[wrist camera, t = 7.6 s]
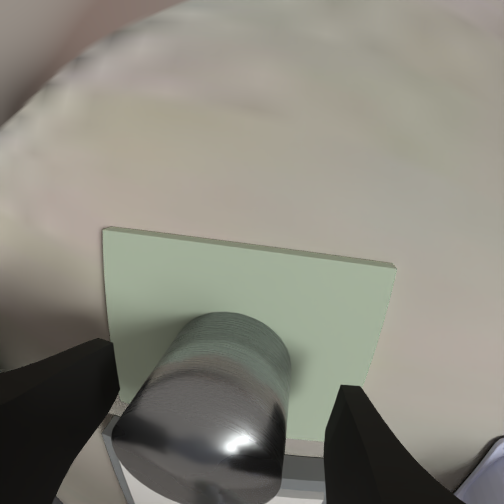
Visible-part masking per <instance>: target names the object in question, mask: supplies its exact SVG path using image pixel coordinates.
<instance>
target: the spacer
mask: <svg viewBox="0 0 504 504" xmlns="http://www.w3.org/2000/svg"><path fill="white" fill-rule="evenodd" d="M290 381H291V359H290V355H289V352H288V350H287V348H286V346H285V344H284V342H283V341H282V340H281V338H280V337H279V336H278V335H277V334H276V333H275V332H274V331H273V330H272V329H271V328H270V327H268V326H267V325H265V324H264V323H262V322H261V321H259V320H257V319H255V318H252V317H249V316H247V315H243V314H239V313H234V312H212V313H208V314H204V315H201V316H199V317H196V318H195V319H193V320H191V321H190V322H189V323H187V324H186V325H185V326H184V327H183V328H182V329H181V331H180V332H179V333H178V335H177V336H176V338H175V339H174V341H173V342H172V343H171V345H170V346H169V348H168V349H167V351H166V352H165V353H164V355H163V356H162V358H161V359H160V361H159V362H158V363H157V365H156V366H155V368H154V369H153V371H152V372H151V374H150V375H149V376H148V378H147V379H146V381H145V382H144V384H143V385H142V387H141V388H140V389H139V391H138V392H137V394H136V395H135V397H134V398H133V400H132V401H131V402H130V404H129V405H128V407H127V408H126V410H125V411H124V413H123V414H122V416H121V417H120V419H119V420H118V421H117V423H116V424H115V426H114V428H113V430H112V434H111V441H112V446H113V449H114V452H115V454H116V456H117V458H118V459H119V461H120V462H121V464H122V465H123V466H124V467H125V469H126V470H127V471H128V472H129V473H130V474H131V475H132V476H133V477H134V478H136V479H137V480H138V481H139V482H141V483H142V484H143V485H145V486H146V487H148V488H149V489H151V490H152V491H154V492H156V493H158V494H159V495H161V496H163V497H165V498H168V499H170V500H172V501H175V502H177V503H180V504H265V503H267V502H269V501H270V500H271V499H273V498H274V497H275V496H276V495H277V493H278V491H279V490H280V487H281V483H282V473H283V464H284V454H285V443H286V432H287V420H288V408H289V395H290Z"/></svg>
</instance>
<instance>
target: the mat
mask: <svg viewBox="0 0 504 504" xmlns="http://www.w3.org/2000/svg"><path fill="white" fill-rule="evenodd" d="M103 261H104V279H105V293H106V304H107V315H108V324H109V333H110V341H111V342H113V345H114V352H115V360H116V366H117V373H118V379H119V385H120V391H119V396H120V401H122V402H125V403H128V404H130V402H131V401H132V400H133V398H134V397H135V395H136V394H137V392H138V391H139V389H140V388H141V387H142V385H143V384H144V382H145V381H146V379H147V378H148V376H149V375H150V374H151V372H152V371H153V369H154V368H155V366H156V365H157V363H158V362H159V361H160V359H161V358H162V356H163V355H164V353H165V352H166V351H167V349H168V348H169V346H170V345H171V343H172V342H173V341H174V339H175V338H176V336H177V335H178V333H179V332H180V331H181V329H182V328H183V327H184V326H185V325H186V324H187V323H189V322H190V321H191V320H193V319H195V318H196V317H199V316H201V315H204V314H208V313H212V312H234V313H239V314H243V315H247V316H249V317H252V318H255V319H257V320H259V321H261V322H262V323H264V324H265V325H267V326H268V327H270V328H271V329H272V330H273V331H274V332H275V333H276V334H277V335H278V336H279V337H280V338H281V340H282V341H283V342H284V344H285V346H286V348H287V350H288V352H289V355H290V359H291V381H290V395H289V408H288V420H287V432H286V438H290V439H299V440H310V441H323V442H324V439H325V429H326V426H327V423H328V420H329V418H330V415H331V412H332V409H333V406H334V403H335V400H336V397H337V394H338V391H339V388H340V385H354V386H360V387H361V388H362V387H363V384H364V382H365V379H366V376H367V373H368V370H369V367H370V364H371V361H372V358H373V355H374V352H375V349H376V346H377V342H378V339H379V336H380V332H381V329H382V326H383V322H384V319H385V315H386V311H387V308H388V304H389V300H390V296H391V292H392V288H393V284H394V280H395V276H396V272H397V268H396V267H395V266H394V265H393V264H392V263H387V262H379V261H372V260H365V259H358V258H350V257H343V256H336V255H328V254H321V253H313V252H306V251H298V250H291V249H283V248H276V247H268V246H261V245H253V244H245V243H238V242H230V241H222V240H215V239H207V238H199V237H191V236H183V235H175V234H167V233H160V232H152V231H144V230H136V229H127V228H119V227H109V228H106V229H103Z"/></svg>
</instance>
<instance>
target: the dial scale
mask: <svg viewBox="0 0 504 504" xmlns="http://www.w3.org/2000/svg"><path fill="white" fill-rule="evenodd" d="M119 419H120V417H118V416H115V415H114V417H113V418H112V419H111V421H110V422H109V424H108V425H107V426H106V428H105V429H104V431H103V432H102V436H103V439H104V442H105V445H106V448H107V451H108V454H109V457H110V460H111V462H112V465H113V468H114V471H115V473H116V476H117V478H118V481H119V483H120V486H121V488H122V491H123V493H124V495H125V498H126V500H127V502H128V504H180V503H177V502H175V501H172V500H170V499H168V498H165V497H163V496H161V495H159V494H158V493H156V492H154V491H152V490H151V489H149V488H148V487H146V486H145V485H143V484H142V483H141V482H139V481H138V480H137V479H136V478H134V477H133V476H132V475H131V474H130V473H129V472H128V471H127V470H126V469H125V467H124V466H123V465H122V464H121V462H120V461H119V459H118V458H117V456H116V454H115V452H114V449H113V446H112V441H111V434H112V430H113V428H114V426H115V424H116V423H117V421H118V420H119ZM265 504H326V488H325V473H324V458H313V457H301V456H291V455H284V464H283V473H282V483H281V487H280V490H279V491H278V493H277V495H276V496H275V497H274V498H273V499H271V500H270V501H269V502H267V503H265Z"/></svg>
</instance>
